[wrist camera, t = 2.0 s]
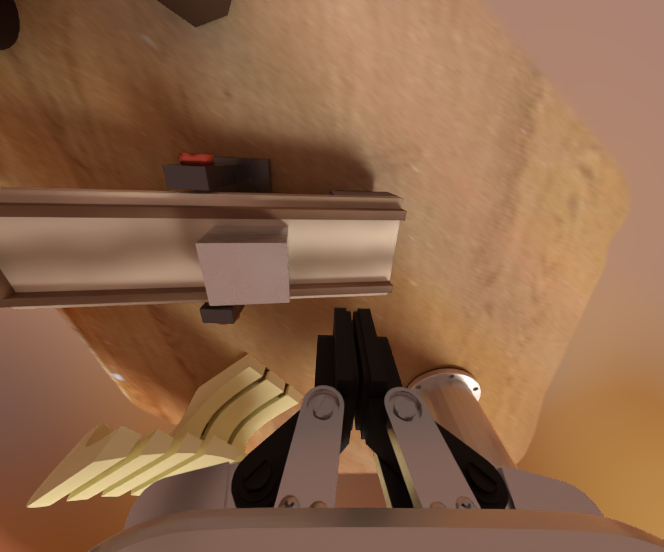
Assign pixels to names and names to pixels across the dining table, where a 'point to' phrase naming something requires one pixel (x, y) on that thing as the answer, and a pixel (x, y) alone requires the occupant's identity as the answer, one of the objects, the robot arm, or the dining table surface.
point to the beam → (182, 243)
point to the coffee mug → (8, 23)
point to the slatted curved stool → (173, 438)
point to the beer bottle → (198, 9)
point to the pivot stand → (219, 177)
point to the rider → (245, 264)
